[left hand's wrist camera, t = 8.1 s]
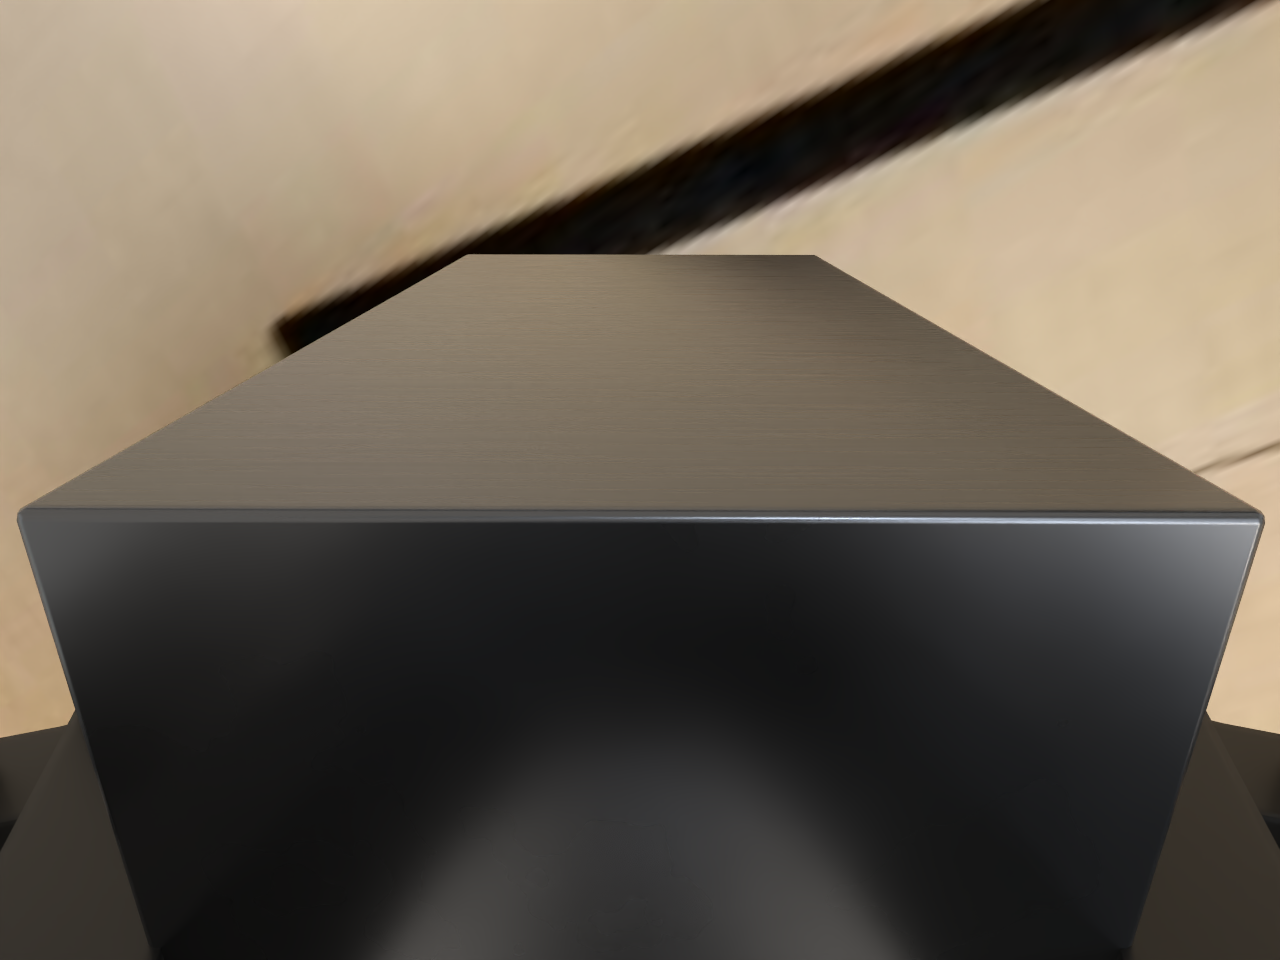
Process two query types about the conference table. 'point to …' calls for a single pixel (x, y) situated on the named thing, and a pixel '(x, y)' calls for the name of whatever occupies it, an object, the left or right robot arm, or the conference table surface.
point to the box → (640, 633)
